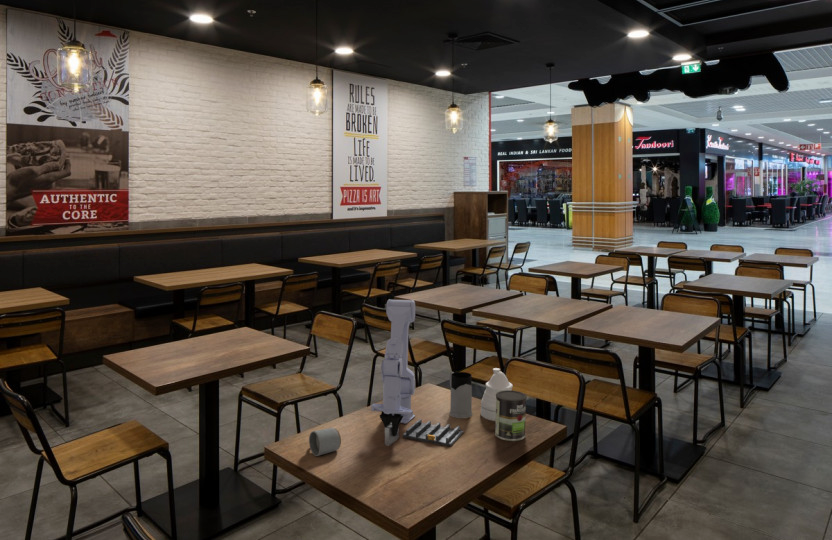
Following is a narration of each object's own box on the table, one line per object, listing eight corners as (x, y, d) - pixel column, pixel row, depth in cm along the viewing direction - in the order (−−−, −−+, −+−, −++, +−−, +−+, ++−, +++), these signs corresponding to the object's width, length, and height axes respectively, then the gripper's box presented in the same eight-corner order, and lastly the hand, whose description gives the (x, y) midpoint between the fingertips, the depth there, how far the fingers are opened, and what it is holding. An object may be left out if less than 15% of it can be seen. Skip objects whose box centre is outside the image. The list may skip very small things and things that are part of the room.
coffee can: (531, 437, 194) (533, 397, 192) (506, 443, 189) (507, 402, 187) (513, 426, 203) (514, 388, 201) (488, 432, 198) (489, 392, 196)
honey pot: (503, 424, 205) (505, 375, 203) (474, 415, 214) (474, 368, 211) (522, 414, 215) (523, 367, 213) (493, 405, 223) (494, 360, 221)
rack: (402, 437, 194) (402, 430, 193) (417, 424, 205) (417, 417, 204) (450, 446, 187) (450, 439, 186) (463, 433, 197) (463, 426, 197)
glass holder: (455, 419, 209) (455, 379, 207) (439, 406, 222) (440, 368, 221) (476, 416, 213) (477, 377, 211) (460, 403, 226) (460, 366, 224)
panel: (384, 445, 188) (384, 427, 187) (394, 437, 194) (394, 420, 193) (389, 446, 187) (389, 428, 186) (398, 437, 193) (398, 420, 192)
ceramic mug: (342, 452, 182) (342, 429, 181) (320, 459, 177) (319, 435, 176) (326, 442, 190) (325, 419, 189) (303, 448, 185) (303, 425, 184)
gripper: (366, 395, 188) (366, 435, 190) (406, 402, 182) (406, 443, 183) (376, 388, 194) (377, 427, 196) (415, 395, 188) (415, 434, 190)
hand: (391, 434), depth 190 cm, fingers closed on panel, 2 cm apart
